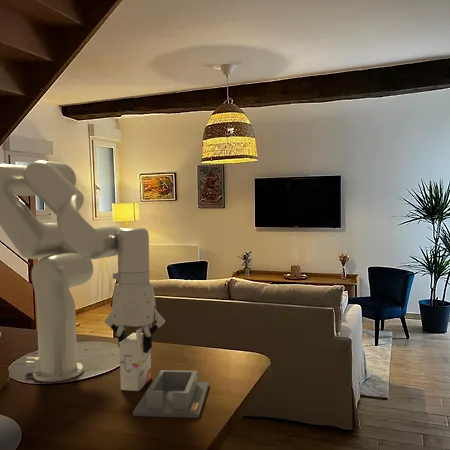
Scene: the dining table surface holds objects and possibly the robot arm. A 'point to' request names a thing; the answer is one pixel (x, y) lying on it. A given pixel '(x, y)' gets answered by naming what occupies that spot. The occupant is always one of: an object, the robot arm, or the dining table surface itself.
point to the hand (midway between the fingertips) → (135, 350)
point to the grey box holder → (173, 395)
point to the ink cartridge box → (134, 362)
